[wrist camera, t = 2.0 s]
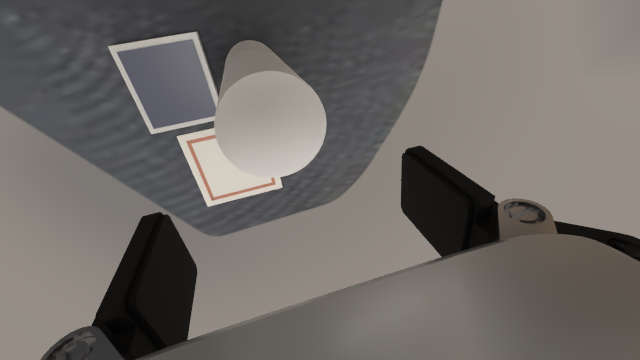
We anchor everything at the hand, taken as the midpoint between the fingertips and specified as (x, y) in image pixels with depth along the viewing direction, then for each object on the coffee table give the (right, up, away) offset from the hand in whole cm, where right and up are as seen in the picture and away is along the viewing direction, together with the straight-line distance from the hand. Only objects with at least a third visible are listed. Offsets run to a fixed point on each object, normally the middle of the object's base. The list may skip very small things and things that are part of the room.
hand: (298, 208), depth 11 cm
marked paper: (-13, +4, +34) cm, 36 cm away
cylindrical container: (-9, +17, +28) cm, 34 cm away
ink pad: (-19, +14, +26) cm, 35 cm away
